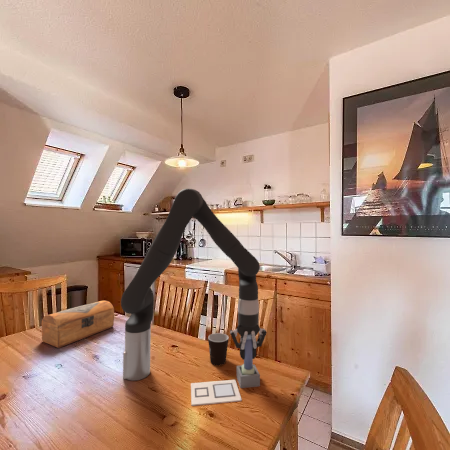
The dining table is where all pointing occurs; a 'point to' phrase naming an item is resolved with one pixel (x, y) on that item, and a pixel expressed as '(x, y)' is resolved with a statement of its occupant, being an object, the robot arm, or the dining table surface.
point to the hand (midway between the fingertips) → (248, 357)
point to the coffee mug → (218, 348)
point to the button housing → (248, 378)
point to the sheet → (214, 392)
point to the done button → (247, 371)
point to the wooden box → (77, 323)
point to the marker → (248, 353)
